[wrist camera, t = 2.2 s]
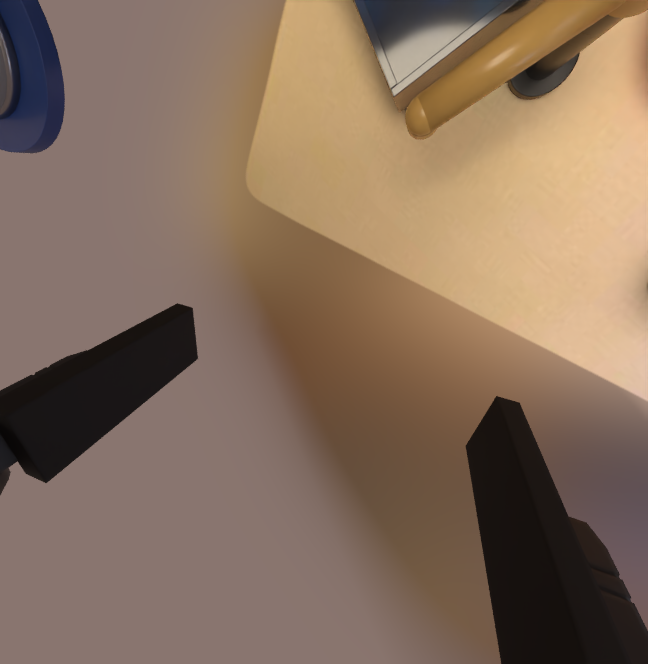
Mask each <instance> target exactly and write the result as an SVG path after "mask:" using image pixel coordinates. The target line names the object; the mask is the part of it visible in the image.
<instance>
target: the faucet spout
mask: <svg viewBox="0 0 648 664" xmlns="http://www.w3.org/2000/svg"><path fill="white" fill-rule="evenodd" d="M646 10H648V0H544V1H543V2H542V3H540V4H539V5H538V6H536V7H535V8H534V9H532V10H531V11H530V12H528V13H527V14H526V15H524V16H523V17H522V18H520V19H519V20H518V21H516V22H515V23H514V24H512V25H511V26H510V27H508V28H507V29H505V30H504V31H503V32H501V33H500V34H499V35H497V36H496V37H495V38H493V39H492V40H491V41H489V42H488V43H487V44H485V45H484V46H483V47H481V48H480V49H479V50H477V51H476V52H475V53H473V54H472V55H471V56H469V57H468V58H467V59H465V60H464V61H462V62H461V63H460V64H458V65H457V66H456V67H454V68H453V69H452V70H450V71H449V72H448V73H446V74H445V75H444V76H442V77H441V78H440V79H438V80H437V81H436V82H434V83H433V84H432V85H430V86H429V87H428V88H426V89H425V90H423V91H422V92H421V93H419V94H418V95H417V96H416V97H414V98H413V100H412V101H411V102H410V104H409V105H408V108H407V111H406V116H405V120H406V125H407V129H408V132H409V133H410V135H411V136H412V137H413V138H415V139H420V140H421V139H426V138H428V137H430V136H431V135H432V134H433V133H434V132H435V131H436V129H437V128H438V127H440V126H441V125H443V124H444V123H446V122H447V121H449V120H450V119H452V118H453V117H455V116H456V115H458V114H459V113H461V112H462V111H464V110H465V109H467V108H468V107H470V106H471V105H473V104H474V103H476V102H477V101H479V100H480V99H482V98H483V97H485V96H486V95H488V94H489V93H491V92H492V91H494V90H495V89H497V88H498V87H500V86H501V85H503V84H504V83H506V82H507V81H509V80H510V79H512V78H513V77H515V76H516V75H518V74H519V73H521V72H522V71H524V70H525V69H527V68H528V67H530V66H531V65H533V64H534V63H536V62H537V61H539V60H540V59H542V58H543V57H545V56H546V55H548V54H549V53H551V52H552V51H554V50H555V49H557V48H558V47H560V46H561V45H563V44H564V43H566V42H567V41H569V40H570V39H572V38H573V37H575V36H576V35H578V34H579V33H581V32H582V31H584V30H585V29H587V28H588V27H590V26H591V25H593V24H594V23H596V22H597V21H599V20H600V19H602V18H603V17H605V16H606V15H610V16H612V17H617V18H626V17H631V16H635V15H638V14H640V13H642V12H644V11H646Z"/></svg>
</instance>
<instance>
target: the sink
mask: <svg viewBox="0 0 648 664" xmlns="http://www.w3.org/2000/svg"><path fill="white" fill-rule="evenodd" d="M543 1H544V0H353V2H354V4H355V7H356V9H357V12H358V14H359V16H360V19H361V21H362V24H363V26H364V29H365V31H366V33H367V36H368V38H369V41H370V43H371V46H372V48H373V51H374V53H375V55H376V58H377V60H378V63H379V65H380V68H381V70H382V73H383V75H384V77H385V80H386V82H387V85H388V87H389V90H390V92H391V95H392V97H393V99H394V102H395V104H396V107H397V109H398V112H399V113H400V112H401V111H403V110H404V109H405V108H407V107H408V105H409V104H410V102H411V101H412V100H413V98H414V97H416V96H417V95H418V94H419V93H421V92H422V91H423V90H425V89H426V88H428V87H429V86H430V85H432V84H433V83H434V82H436V81H437V80H438V79H440V78H441V77H442V76H444V75H445V74H446V73H448V72H449V71H450V70H452V69H453V68H454V67H456V66H457V65H458V64H460V63H461V62H462V61H464V60H465V59H467V58H468V57H469V56H471V55H472V54H473V53H475V52H476V51H477V50H479V49H480V48H481V47H483V46H484V45H485V44H487V43H488V42H489V41H491V40H492V39H493V38H495V37H496V36H497V35H499V34H500V33H501V32H503V31H504V30H505V29H507V28H508V27H510V26H511V25H512V24H514V23H515V22H516V21H518V20H519V19H520V18H522V17H523V16H524V15H526V14H527V13H528V12H530V11H531V10H532V9H534V8H535V7H536V6H538V5H539V4H540V3H542V2H543Z"/></svg>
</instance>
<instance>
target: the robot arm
mask: <svg viewBox="0 0 648 664" xmlns="http://www.w3.org/2000/svg"><path fill="white" fill-rule="evenodd" d="M20 88H21V82H20V71H19V65H18V60H17V56H16V52H15V49H14V45H13V42H12V39H11V37H10V34H9V31H8V29H7V27H6V24H5V22H4V20H3V18H2V16H1V14H0V119H1V118H6V117H8V116H10V115H11V114H12V113H13V112H14V111H15V109H16V107H17V105H18V102H19V98H20ZM197 359H198V356H197V346H196V336H195V327H194V318H193V308H191V307H188V306H184V305H181V304H175V305H174V306H172V307H170V308H168V309H166V310H164V311H162V312H160V313H158V314H156V315H154V316H153V317H151V318H149V319H147V320H145V321H143V322H141V323H139V324H137V325H135V326H134V327H132V328H130V329H128V330H126V331H124V332H122V333H120V334H118V335H117V336H114V337H113V338H111V339H109V340H107V341H105V342H103V343H101V344H99V345H97V346H95V347H94V348H92V349H90V350H88V351H87V350H86V351H83V352H80V353H77V354H73V355H70V356H67V357H65V358H63V359H61V360H59V361H57V362H55V363H53V364H52V365H50V366H49V367H48V368H47V367H46V368H44V369H42V370H40V371H38V372H36V373H35V375H30V376H28V377H26V378H24V379H22V380H20V381H18V382H16V383H14V384H12V385H10V386H8V387H6V388H4V389H3V390H1V391H0V495H1V493H2V491H3V489H4V487H5V485H6V483H7V481H8V480H9V476H10V471H9V467H10V466H11V465H13V464H14V463H16V462H17V461H18V462H19V464H20V465H21V467H22V468H23V470H24V472H25V473H26V474H28V475H30V476H32V477H34V478H36V479H38V480H41V481H43V482H45V483H47V482H48V481H50V480H51V479H52V478H53V477H54V476H56V475H57V474H58V473H59V472H60V471H62V470H63V469H64V468H65V467H67V466H68V465H69V464H70V463H71V462H72V461H74V460H75V459H76V458H78V457H79V456H80V455H81V454H82V453H84V452H85V451H86V450H87V449H88V448H90V447H91V446H92V445H93V444H94V443H96V442H97V441H98V440H99V439H101V437H103V436H104V435H105V434H107V433H108V432H109V431H110V430H112V429H113V428H114V427H115V426H116V425H118V424H119V423H120V422H121V421H122V420H124V419H125V418H126V417H127V416H129V415H130V414H131V413H132V412H133V411H134V410H136V409H137V408H138V407H140V406H141V405H142V404H143V403H145V402H146V401H147V400H148V399H149V398H151V397H152V396H153V395H154V394H155V393H157V392H158V391H159V390H160V389H161V388H163V387H164V386H165V385H166V384H168V383H169V382H170V381H171V380H173V379H174V378H175V377H176V376H177V375H179V374H180V373H181V372H182V371H183V370H185V369H186V368H187V367H188V366H190V365H191V364H192V363H193V362H194V361H196V360H197ZM466 450H467V457H468V462H469V469H470V475H471V481H472V487H473V493H474V499H475V505H476V512H477V517H478V524H479V530H480V536H481V542H482V548H483V554H484V560H485V566H486V573H487V579H488V585H489V590H490V597H491V603H492V609H493V615H494V621H495V628H496V634H497V639H498V645H499V652H500V658H501V664H648V631H647V629H646V627H645V625H644V623H643V621H642V619H641V616H640V614H639V613H638V610H637V608H636V607H635V604H634V603H632V602H631V600H630V598H631V596H630V594H629V592H628V590H627V588H626V587H625V584H624V582H623V580H621V579H620V578H619V572H618V570H617V568H616V566H615V564H614V562H613V560H612V558H611V556H610V554H609V552H608V550H607V548H606V547H605V545H604V544H603V543H602V542H601V540H600V539H599V538H598V537H597V535H596V534H595V533H594V531H593V530H592V529H591V528H590V527H589V525H588V524H587V523H586V522H583V521H580V520H577V519H574V518H571V517H568V514H567V512H566V510H565V508H564V505H563V503H562V500H561V498H560V496H559V494H558V491H557V489H556V487H555V484H554V482H553V480H552V477H551V475H550V473H549V470H548V468H547V466H546V463H545V461H544V459H543V456H542V454H541V452H540V449H539V447H538V445H537V442H536V440H535V438H534V436H533V433H532V431H531V428H530V426H529V424H528V422H527V419H526V417H525V415H524V412H523V410H522V408H521V405H520V403H518V402H515V401H512V400H508V399H504V398H501V397H498V396H496V398H495V399H494V401H493V403H492V405H491V406H490V408H489V409H488V411H487V412H486V414H485V416H484V417H483V419H482V420H481V422H480V424H479V425H478V427H477V429H476V430H475V432H474V433H473V435H472V437H471V438H470V440H469V441H468V443H467V445H466Z"/></svg>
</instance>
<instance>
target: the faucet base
mask: <svg viewBox="0 0 648 664" xmlns="http://www.w3.org/2000/svg"><path fill="white" fill-rule="evenodd" d="M622 19H623V18H617V17H612V16H610V15H606V16H605V17H603V18H602V19H600V20H599V21H597V22H596V23H594V24H593V25H591V26H590V27H588V28H587V29H585V30H584V31H582V32H581V33H579V34H578V35H576V36H575V37H573V38H572V39H570V40H569V41H567V42H566V43H564V44H563V45H561V46H560V47H558V48H557V49H555V50H554V51H552V52H551V53H549V54H548V55H546V56H545V57H543V58H542V59H540V60H539V61H537V62H536V63H534V64H533V65H531V66H530V67H528V68H527V69H525V70H524V71H522V72H521V73H519V74H518V75H516V76H515V77H513V78H512V79H510V80H509V81H507V82H508V85H509V88H510V90H511V91H512V92H513V93H514V94H515V95H516V96H518V97H520V98H523V99H535V98H539V97H541V96H544V95H545V94H547V93H549V92H551V91H552V90H554V89H555V88H556V87H558V86H559V85H560V84H561V83H562V82H563V81H564V80H565V79H566V78H567V77H568V76H569V74H570V73H571V71H572V70H573V68H574V66H575V64H576V62H577V60H578V57H579V54H580V52H581V51H582V50H583V49H584V48H586V47H587V46H588V45H590V44H591V43H592V42H594V41H595V40H596V39H597V38H599V37H600V36H601V35H603V34H604V33H605V32H606V31H608V30H609V29H610V28H612V27H613V26H614V25H615V24H617V23H618V22H619V21H621V20H622Z"/></svg>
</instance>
